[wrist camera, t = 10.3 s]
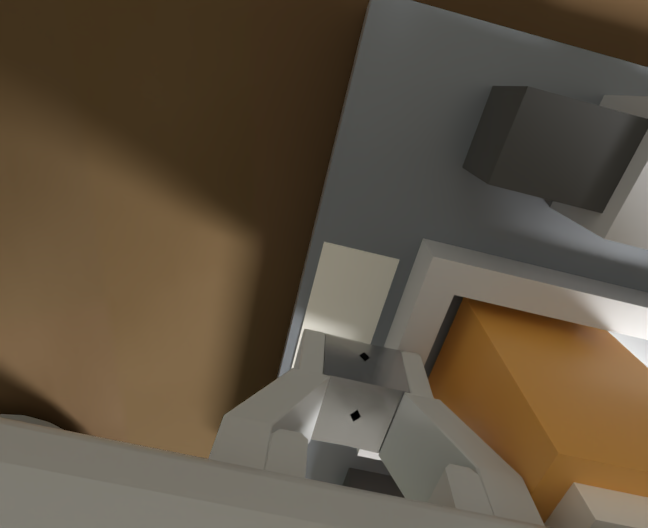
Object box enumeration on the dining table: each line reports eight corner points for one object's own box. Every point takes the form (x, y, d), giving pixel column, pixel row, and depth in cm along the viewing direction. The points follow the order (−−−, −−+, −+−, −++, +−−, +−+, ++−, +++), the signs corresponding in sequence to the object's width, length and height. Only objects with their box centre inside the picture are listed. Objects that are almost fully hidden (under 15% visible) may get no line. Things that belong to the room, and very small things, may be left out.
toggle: (605, 328, 11) (838, 541, 6) (539, 436, 13) (677, 677, 7) (464, 295, 11) (579, 489, 6) (414, 409, 12) (470, 641, 7)
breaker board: (1057, 199, 11) (1304, 239, 9) (708, 549, 18) (782, 641, 15) (367, 6, 10) (379, -26, 7) (256, 460, 16) (239, 541, 14)
